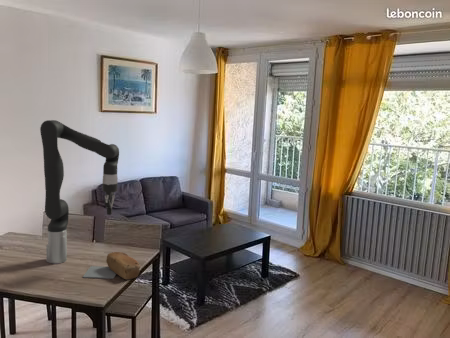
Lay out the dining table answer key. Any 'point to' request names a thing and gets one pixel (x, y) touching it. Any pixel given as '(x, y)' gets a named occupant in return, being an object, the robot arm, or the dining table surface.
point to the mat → (100, 272)
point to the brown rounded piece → (123, 265)
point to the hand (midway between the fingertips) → (109, 214)
